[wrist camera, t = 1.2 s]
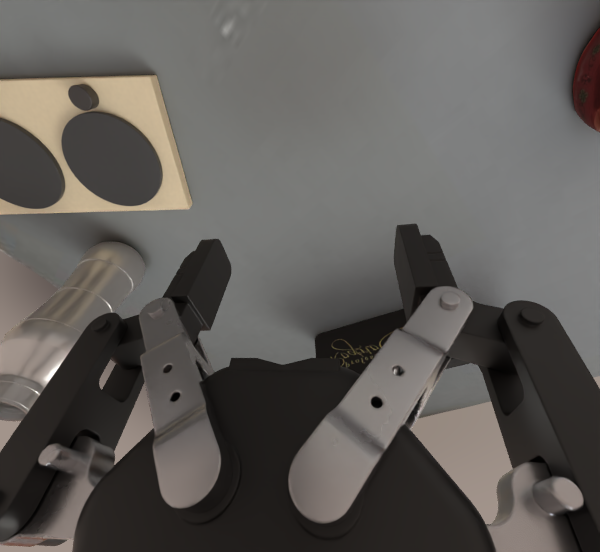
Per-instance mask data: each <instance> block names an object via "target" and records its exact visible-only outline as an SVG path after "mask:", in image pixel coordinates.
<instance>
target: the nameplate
mask: <svg viewBox="0 0 600 552" xmlns="http://www.w3.org/2000/svg"><path fill="white" fill-rule="evenodd" d="M406 323H407V321H406V316H405V312H404V309H402V310H399V311H396V312H392V313H389V314H386V315H382V316H379V317H376V318H372V319H369V320H365V321H362V322H359V323H355V324H352V325H349V326H345V327H342V328H339V329H335V330H332V331H329V332H325V333H322V334H319V335H318V336H317V337H316V338H315V348H316V358H339V360H340V366H341V367H345V368H348V369H350V370H353V371H354V372H356V373H358V374H360V375H361V374H362V373H363V371H364V370H365V369H366V367H367V366H368V365H369V363H370V362H371V361H372V359H373V358H374V357H375V355H376V354H377V353H378V351H379V350H380V349H381V347H382V346H383V345H384V344H385V342H386V341H387V340H388V338H389V337H390V336H391V334H392V333H393V332H394V331H395V330H396V329H397V328H400V329H402V328H403V327H404V326H405V324H406ZM464 364H469V362H466V361H462V360H458V359H455V358H451V359H450V361H449V363H448V365H447V366H446V368H445V369H448V368H452V367H456V366H460V365H464Z"/></svg>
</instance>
